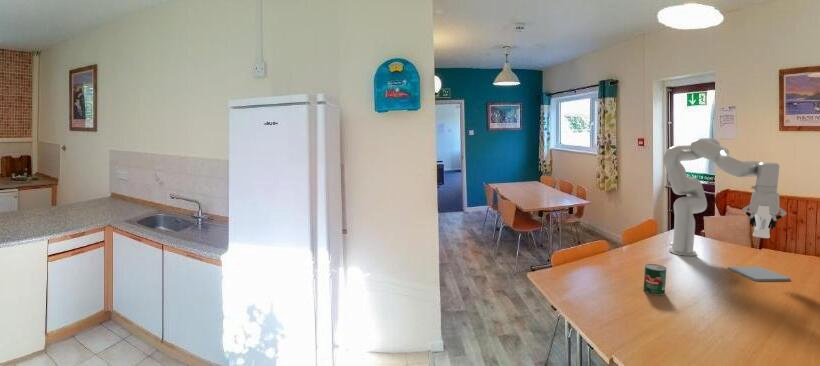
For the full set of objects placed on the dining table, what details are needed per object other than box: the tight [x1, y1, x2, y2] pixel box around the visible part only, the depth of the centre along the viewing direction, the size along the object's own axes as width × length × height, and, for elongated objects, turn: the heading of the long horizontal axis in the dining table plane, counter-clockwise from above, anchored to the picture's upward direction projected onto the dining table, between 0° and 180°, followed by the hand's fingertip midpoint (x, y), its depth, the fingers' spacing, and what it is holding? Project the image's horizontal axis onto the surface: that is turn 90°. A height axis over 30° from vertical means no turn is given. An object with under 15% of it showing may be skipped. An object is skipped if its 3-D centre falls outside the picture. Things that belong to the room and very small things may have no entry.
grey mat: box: [727, 266, 792, 282], centre depth 191 cm, size 16×16×1 cm
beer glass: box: [752, 205, 773, 239], centre depth 187 cm, size 7×7×15 cm
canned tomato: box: [643, 263, 667, 296], centre depth 172 cm, size 8×8×11 cm
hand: (762, 227), depth 188 cm, fingers closed on beer glass, 6 cm apart
